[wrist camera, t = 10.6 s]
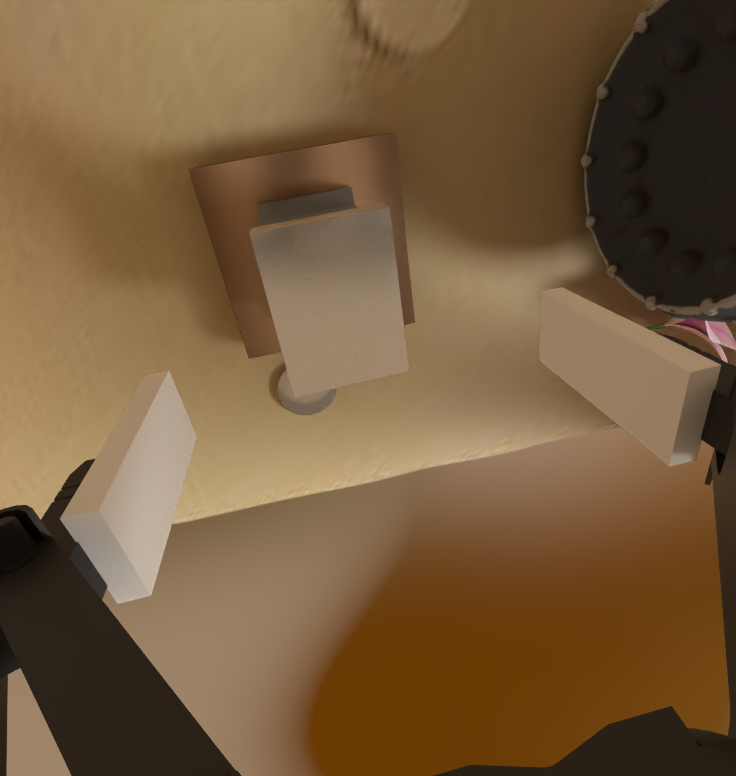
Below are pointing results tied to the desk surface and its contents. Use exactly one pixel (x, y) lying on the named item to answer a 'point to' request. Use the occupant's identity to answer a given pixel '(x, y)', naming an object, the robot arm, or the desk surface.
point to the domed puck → (302, 398)
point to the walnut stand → (284, 179)
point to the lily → (705, 332)
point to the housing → (331, 288)
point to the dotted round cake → (669, 161)
